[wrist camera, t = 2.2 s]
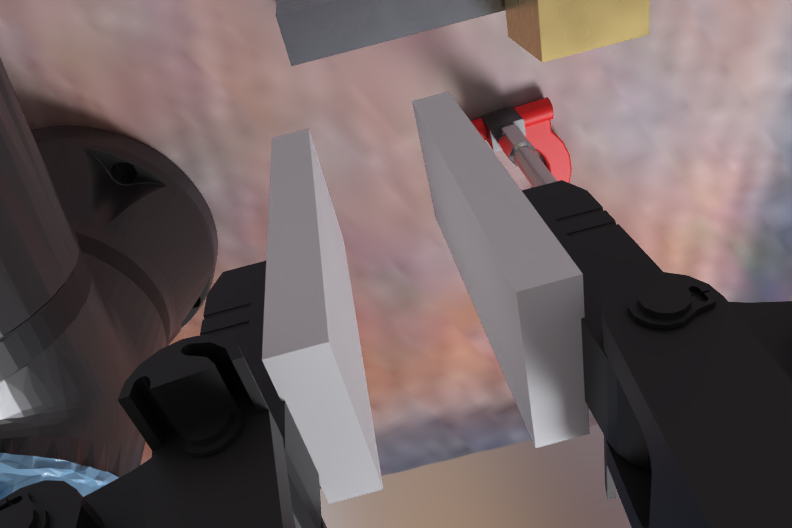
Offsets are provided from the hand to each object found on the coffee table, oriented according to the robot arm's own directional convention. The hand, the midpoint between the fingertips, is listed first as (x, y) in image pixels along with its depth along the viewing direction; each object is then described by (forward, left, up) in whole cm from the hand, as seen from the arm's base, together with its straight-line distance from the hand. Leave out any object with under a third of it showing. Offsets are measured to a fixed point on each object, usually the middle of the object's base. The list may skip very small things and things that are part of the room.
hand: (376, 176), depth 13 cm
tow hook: (+9, -14, -25) cm, 30 cm away
